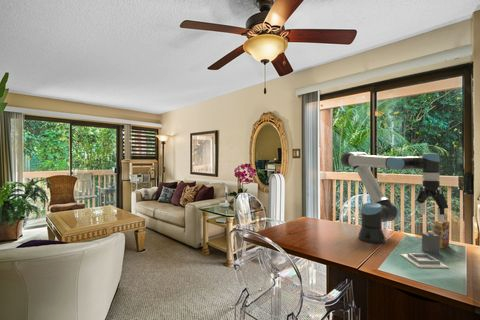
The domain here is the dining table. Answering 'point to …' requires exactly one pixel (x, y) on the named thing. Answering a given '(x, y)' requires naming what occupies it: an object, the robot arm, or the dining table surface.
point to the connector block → (431, 242)
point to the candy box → (442, 232)
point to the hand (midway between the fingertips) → (431, 217)
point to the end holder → (423, 260)
